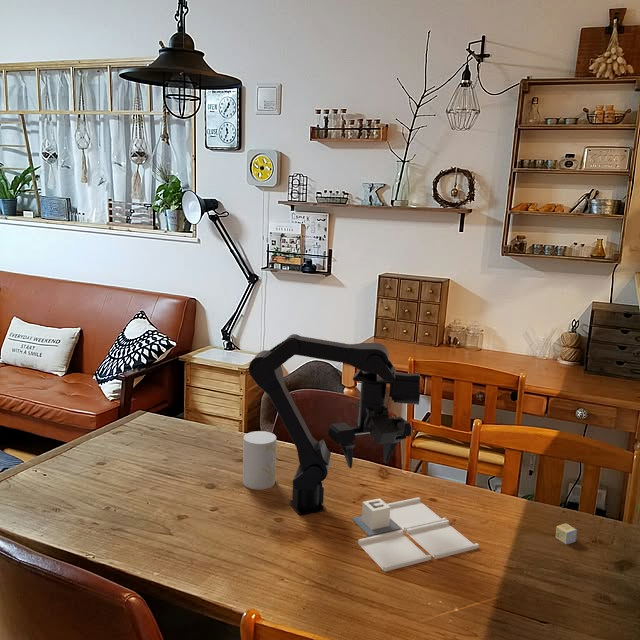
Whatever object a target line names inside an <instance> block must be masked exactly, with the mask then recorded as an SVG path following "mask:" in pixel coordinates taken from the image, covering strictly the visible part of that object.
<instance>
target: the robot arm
mask: <svg viewBox="0 0 640 640" xmlns="http://www.w3.org/2000/svg"><path fill="white" fill-rule="evenodd" d="M294 356H301V357H306V358H313V359H319V360H324V361H330V362H337V363H341V364H346V365H349V366H351V367H353V368H355V369H357V370H358V371H356V372H355V373H354V374H353V376H352V380H353V382H360V391H359V393H360V394H359V400H357V402H356V406H357V407H358V410H359V411H358V417H357V418H355V423H356V424H357V426H350V425H349V424H348V423H346V422H339V423H337V422H336V423H331V424H330V425H329V427H328V428H327V429H328V430H327V436H329V438H331V440H333V441H334V443H336V444H337V445H340V447H341V450H342V452H343V455H344V458H345V462H346V464H347V467H348V468H349V469H352V468H353V464H354V463H353V462H354V461H353V459H354V458H353V457H354V456H353V455H354V454H353V453H354V447H355V446H356V443H355V442H354V441H355V440H356V437H357V436H363V435H364V436H365V435H370V436H371V437H372V439H373V441H374V442H375V444H378V445H383V451H382V453H383V455H382V456H383V462H384V463H385V464H388V463H389V461H390V459H391V457H392V454H393V453H394V450H395V448H396V447H397V445H398V444H399V443H401V441H403V440H406V439H407V437H412V435H413V427H412V424H411V422H409V421H408V420H406V419H405V418H403V417H401V416H392V417H390V415H389V407H388V406H386V398H387V386H388V385H389V393H388V398H389V399H390V398H391V401H393V403H396V404H406V405H418V406H420V398H421V388H420V387H421V386H420V385H421V384H420V383H421V374H420V373H416V372H415V373H413V372H412V373H405V372H397V369H396V367H395V366H394V365H393V363H392V361H391V360H390V359H389V358H390V353H389V350H388V349H387V348H386V346H385V345H384V344H382V343H380V342H360V343H359V342H358V343H353V344H352V343H344V342H339V341H331V340H327V339H321V338H313V337H309V336H308V337H307V336H302V335H299V334H295V333H293V334H290V335H289V336H288V337H287V338H286V339H284V340H283V341H282V342H280V343H278V344H277V345H275V346H274V347H272V348H271V349H270V350H268V349H267V350H261V351H259V352H258V353H257V354H256V355H255V357H253V359H252V360H251V361H250V363H249V365H248V375H249V376H250V377H251V378H252V380H253V381H254V383H255V384H256V385H257V387H259V389H261V390H262V391H263V392H264V393H266V394H267V395H268V398H269V399H270V400H271V402H272V404H273V406H274V408H275V410H276V412H277V415H278V416H279V418H280V420H281V421H282V423H283V425H284V427H285V429H286V431H287V433H288V434H289V437H290V438H291V440H292V442H293V444H294V446H295V447H296V451H297V457H298V462H299V463H298V464H299V465H298V466H297V468H296V471H295V474H294V476H293V480H292V494H291V495H292V498H291V499H290V500H289V502H288V503H289V505H290V506H291V508H293V509H294V511H296V512H297V514H298V515H301V516H302V515H306V514H307V515H308V514H311V513H315V512H316V513H317V512H321V511H324V510H325V508H326V507H325V506H324V505H323V504H324V495H325V494H324V492H325V488H324V486H323V481H325V480H326V478H327V476H328V473H329V470H330V465H331V462H332V461H331V456H332V452H331V451H330V450H329V448H327V445H326V442H325V439H321V440H319V441H318V440H317V439H315V437H313V436H312V433H311V431H310V429H309V428H308V425H307V424H306V422H305V420H304V418H303V416H302V414H301V412H300V411H299V408H298V406H297V405H296V402H295V401H294V399H293V397H292V395H291V393H290V391H289V390H288V388H287V385H286V383H285V379H284V373H283V368H282V365H283V364H286V362H287V361H288V360H290V359H291V358H292V357H294Z"/></svg>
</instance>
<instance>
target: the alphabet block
mask: <svg viewBox="0 0 640 640" xmlns="http://www.w3.org/2000/svg"><path fill="white" fill-rule="evenodd" d="M577 534H578V530H577V529H576V528H575V527H574V526H573V527H572V526H571V525H569V524H568V523H562V524H559V525H557V526H556V529H555V539H557V540H559V541H560V542H561V543H563V544H565V545H566V546H567V545H570V544H572V543H576V542H577Z"/></svg>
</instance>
